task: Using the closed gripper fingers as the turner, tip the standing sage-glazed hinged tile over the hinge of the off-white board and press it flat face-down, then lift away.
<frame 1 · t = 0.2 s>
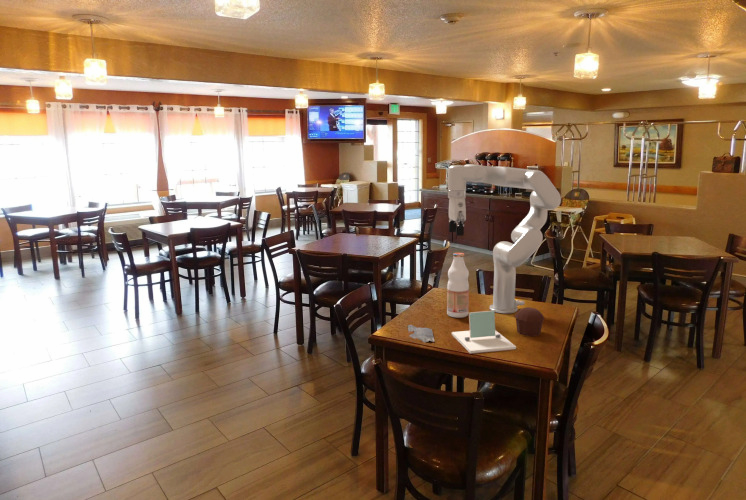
hand: (456, 233, 228), 37 cm above the table, tool pointing down, fingers open, 9 cm apart
fruit juice: (457, 315, 234), on the table
tile: (482, 324, 201), point 7 cm above the table, hinge at 80.0°
board: (482, 341, 202), on the table
stone slab: (420, 336, 211), on the table
muffin: (528, 333, 211), on the table
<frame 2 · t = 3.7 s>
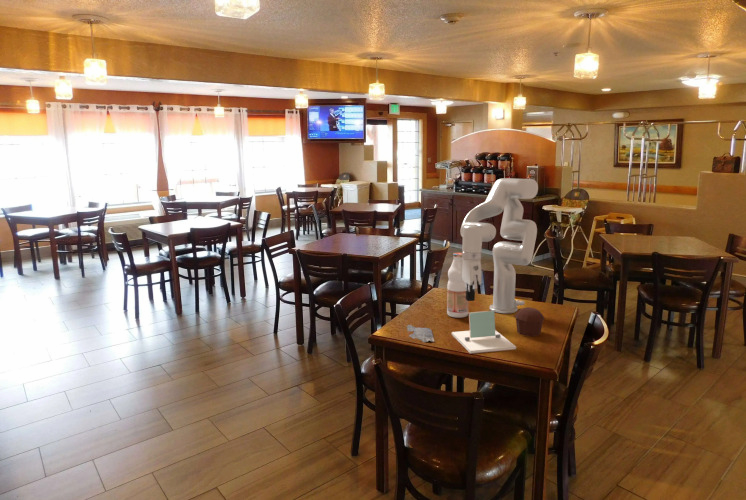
hand: (470, 300, 211), 13 cm above the table, tool pointing down, fingers closed
nothing on the table moved.
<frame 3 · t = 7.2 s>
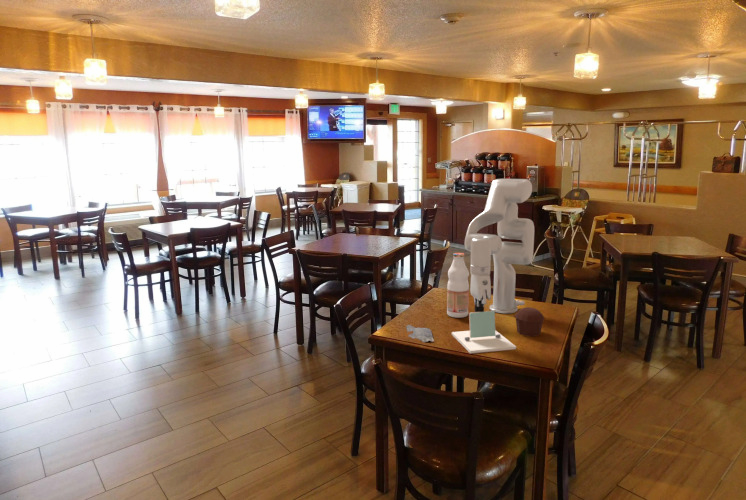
hand: (479, 315, 204), 9 cm above the table, tool pointing down, fingers closed
tile: (482, 324, 201), point 7 cm above the table, hinge at 81.3°, touching gripper
everything else where it was.
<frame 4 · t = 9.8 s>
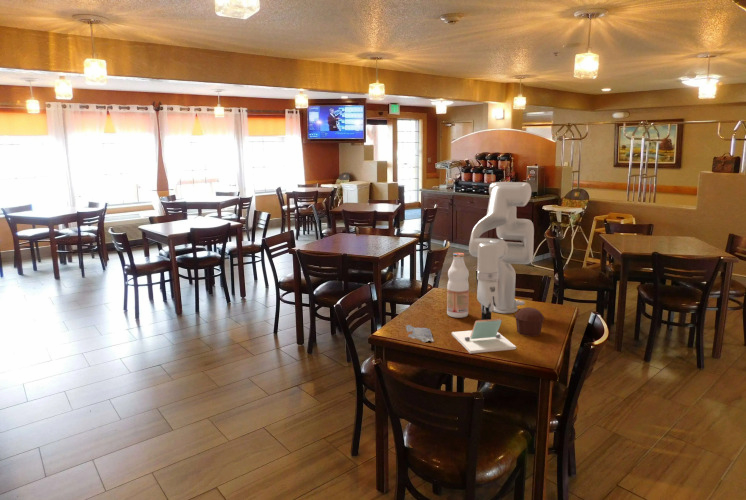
hand: (486, 322, 198), 9 cm above the table, tool pointing down, fingers closed
tile: (485, 328, 198), point 6 cm above the table, hinge at 121.7°, touching gripper
everything else where it was.
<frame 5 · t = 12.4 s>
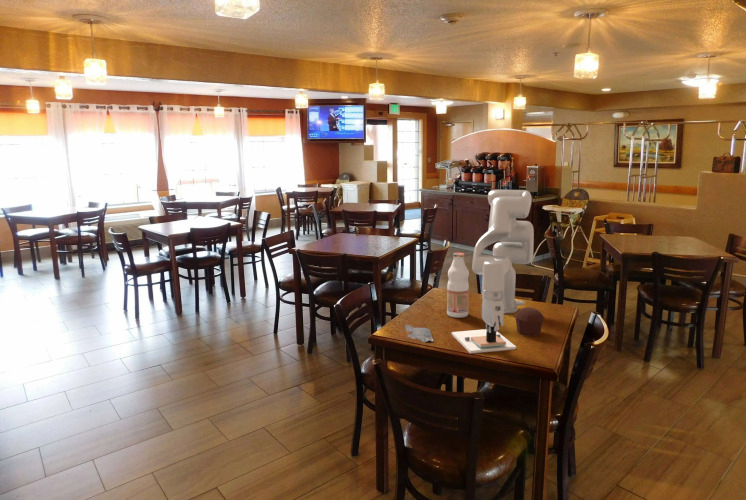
hand: (491, 341, 194), 3 cm above the table, tool pointing down, fingers closed
tile: (488, 341, 197), point 2 cm above the table, hinge at 175.3°, touching gripper
everything else where it was.
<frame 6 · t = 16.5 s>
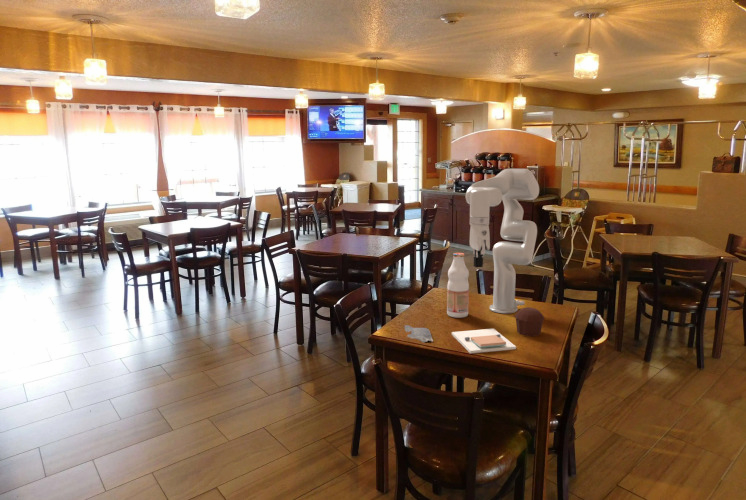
hand: (478, 266, 207), 27 cm above the table, tool pointing down, fingers closed
tile: (488, 341, 197), point 2 cm above the table, hinge at 175.4°
everything else where it was.
at the end: tile at +175° (first picture: +80°) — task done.
